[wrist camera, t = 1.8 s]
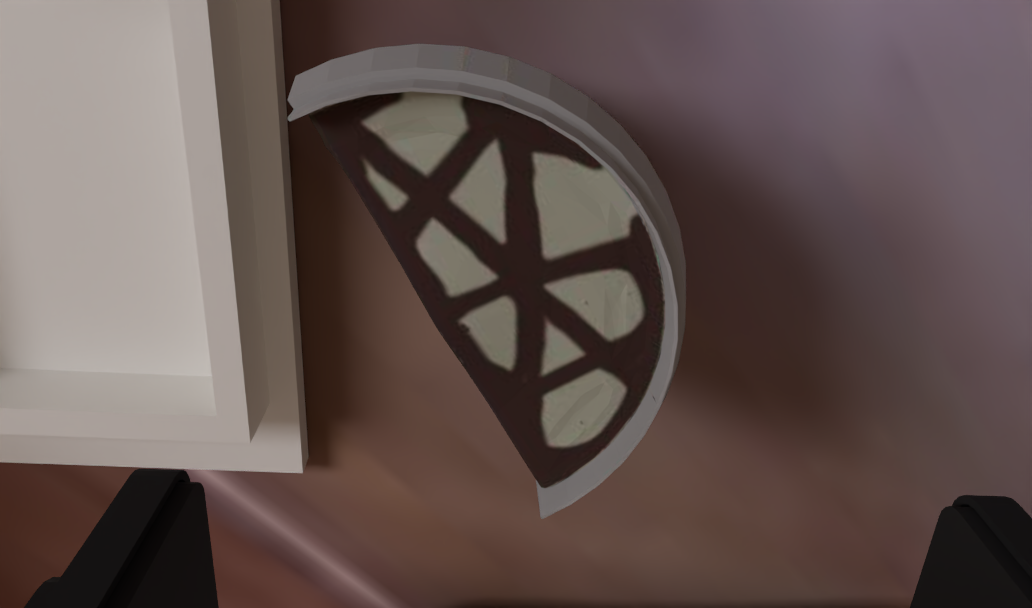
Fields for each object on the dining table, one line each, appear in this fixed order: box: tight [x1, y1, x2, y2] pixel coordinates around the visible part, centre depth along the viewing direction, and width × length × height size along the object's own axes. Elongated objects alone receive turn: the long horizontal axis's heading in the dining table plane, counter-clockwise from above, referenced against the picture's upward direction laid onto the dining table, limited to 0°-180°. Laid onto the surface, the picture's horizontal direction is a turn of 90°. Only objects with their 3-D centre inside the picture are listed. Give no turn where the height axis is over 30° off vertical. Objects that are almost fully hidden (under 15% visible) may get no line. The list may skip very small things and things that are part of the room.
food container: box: [287, 44, 686, 519], centre depth 23 cm, size 12×6×10 cm, turn 27°
